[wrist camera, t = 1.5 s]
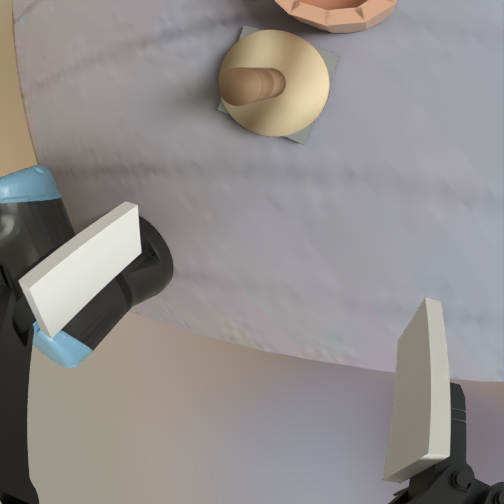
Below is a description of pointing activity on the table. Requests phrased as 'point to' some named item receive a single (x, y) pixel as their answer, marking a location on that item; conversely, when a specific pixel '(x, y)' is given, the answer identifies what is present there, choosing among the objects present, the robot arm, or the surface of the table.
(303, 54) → the lid
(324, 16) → the bowl
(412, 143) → the table surface
